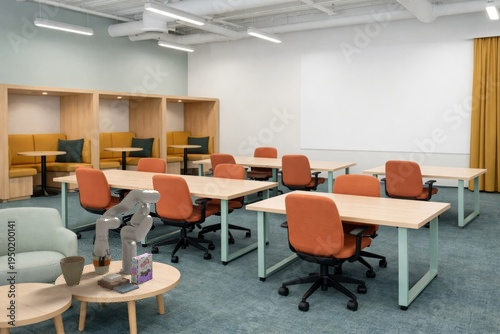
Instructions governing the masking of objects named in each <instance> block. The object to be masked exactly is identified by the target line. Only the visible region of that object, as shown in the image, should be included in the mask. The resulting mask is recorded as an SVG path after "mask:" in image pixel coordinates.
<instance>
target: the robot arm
mask: <svg viewBox="0 0 500 334" xmlns="http://www.w3.org/2000/svg"><path fill="white" fill-rule="evenodd" d="M160 200H161V193H160V192H159V191H157V190H153V189H152V190H151V189H141V190H140V189H132V190H130V191H129V192H128V194H126V196H125V197H124V198H123V199H122V200H121V201H120V202H119V203H117V204H116V205H114V206H112V207H110V208H108V209H107V210H106V211H105V212H104V213H103V214H102V216H101V217H99V218H97V219H96V220H95V239H94V245H93V250H94V254H95V255H96V256H97V257H98V260H99V266H100V267H102V266H105V259H106V258H108V255H109V249H110V244H109V230H117V229H118V228H119V227H120V226H121V223H122V221H121V220H120V218H118V217H117V216H120V215H123V214H127V213H129V212H131V211H132V210H133V209H134V207H135V206H136V205H137V204H138V203H139V205H138V207H137V210H135V212H134V214H133V215H132V216H131V218H130V221H129V222H130V225H125V226H122V228H121V230H120V238H121V265H122V266H121V267H122V268H121V269H119V273H120V274H121V275H122V274H124V275H131V258H133V257H136V256H138V255H137V248H138V247H137V243H139V242H142V241H143V240H144V239H145V238H146V236H147V234H148V233H149V231H150V229H151V228H152V226H153V217H152V216H151V215H150V213H151V204H156V203H158V202H159V201H160Z"/></svg>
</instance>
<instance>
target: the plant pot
mask: <svg viewBox="0 0 500 334" xmlns="http://www.w3.org/2000/svg"><path fill="white" fill-rule="evenodd" d="M85 260H86V258H85V256H81V255H70V256H65V257H62V258H61V259H59V265H60V270H61V273H62V276H63V279H64V281H65V284H66V285H67V286H70V287H75V286H77V285H79V284H80V282H81V280H82V277H83V272H84V268H85Z"/></svg>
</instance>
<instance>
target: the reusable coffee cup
mask: <svg viewBox="0 0 500 334" xmlns="http://www.w3.org/2000/svg"><path fill="white" fill-rule="evenodd" d="M91 256H92V265H93V267H94V273H95V274H98V275H101V274H103V275H104V274H108V273H109V272H110V266H111V261H112V257H111V256H112V249H111V248H109V255H108V258H106V259H105V266H102V267H100V266H99V260H98V257H97V256H96V255H95V254H94V249H93V250H92V252H91Z"/></svg>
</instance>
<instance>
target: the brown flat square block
mask: <svg viewBox="0 0 500 334" xmlns="http://www.w3.org/2000/svg"><path fill="white" fill-rule="evenodd" d="M96 282H97V284H96V285H97V286H98V287H101V288H103V289H106V290H109V291H114V290H113V288H115V287H118V286H121V285H124V284H127V283H130V284H131V278H130V279H129V278H127V277H124V276H122V280H119V281H115V282H112V283H110V282H108V281H105V280H103V278H102V279H99V280H98V279H97V281H96Z"/></svg>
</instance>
